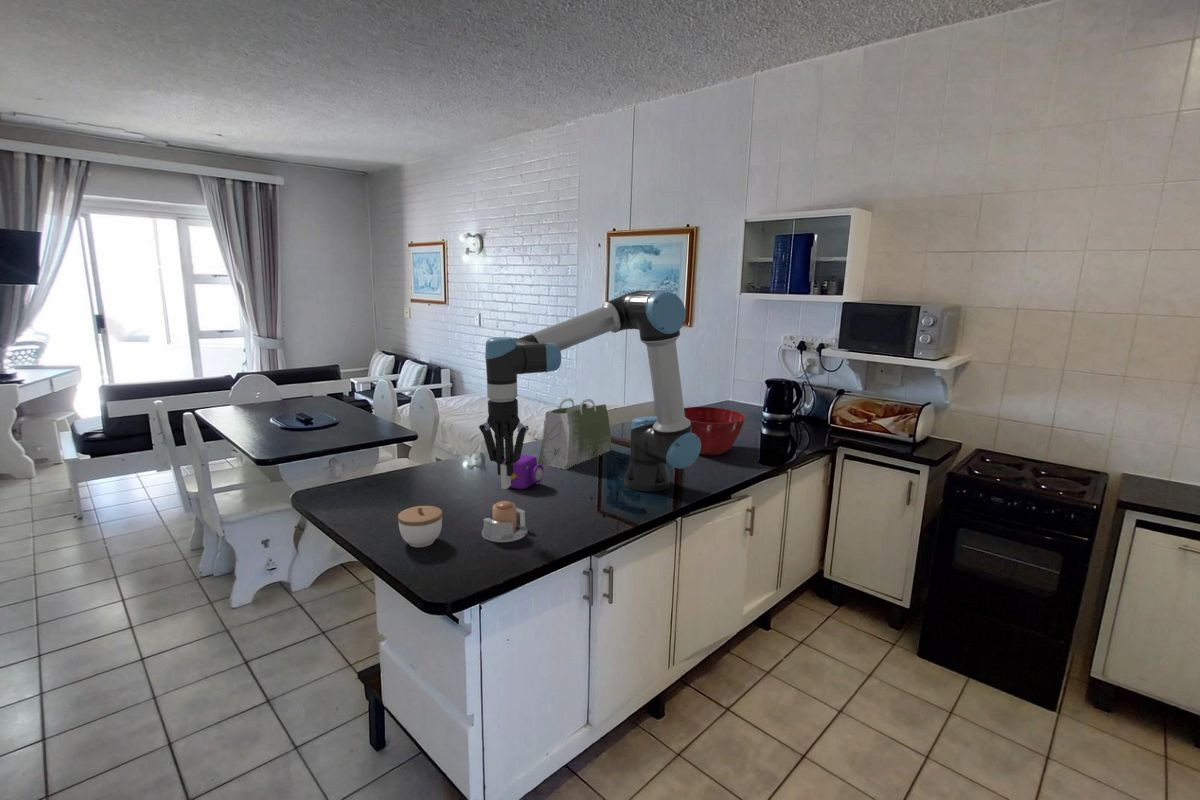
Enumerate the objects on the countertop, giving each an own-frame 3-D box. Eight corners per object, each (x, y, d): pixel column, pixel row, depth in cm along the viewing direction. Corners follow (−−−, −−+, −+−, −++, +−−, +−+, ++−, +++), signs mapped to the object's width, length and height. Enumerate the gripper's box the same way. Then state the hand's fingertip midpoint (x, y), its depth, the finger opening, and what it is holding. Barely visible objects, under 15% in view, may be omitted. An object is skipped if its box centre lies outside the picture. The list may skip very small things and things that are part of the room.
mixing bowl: (750, 461, 217) (753, 422, 214) (676, 460, 217) (678, 421, 214) (734, 442, 244) (736, 407, 241) (668, 440, 245) (670, 406, 242)
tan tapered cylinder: (519, 528, 152) (519, 501, 150) (510, 537, 146) (510, 509, 145) (498, 525, 153) (498, 498, 152) (489, 534, 147) (488, 507, 146)
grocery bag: (584, 444, 236) (584, 390, 232) (612, 450, 229) (613, 394, 224) (536, 463, 209) (536, 402, 205) (566, 470, 202) (567, 407, 198)
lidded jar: (405, 533, 148) (403, 499, 147) (446, 532, 149) (445, 499, 147) (394, 552, 138) (392, 516, 136) (438, 551, 139) (437, 515, 137)
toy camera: (538, 492, 180) (538, 462, 178) (498, 489, 182) (497, 459, 180) (548, 481, 190) (548, 453, 188) (509, 478, 193) (509, 450, 191)
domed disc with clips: (534, 526, 154) (533, 509, 153) (517, 545, 143) (517, 526, 142) (493, 521, 157) (493, 504, 156) (473, 539, 146) (473, 521, 145)
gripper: (532, 397, 145) (534, 484, 150) (485, 394, 148) (489, 480, 153) (521, 403, 138) (524, 494, 143) (472, 400, 141) (476, 489, 146)
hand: (506, 486), depth 148 cm, fingers closed
